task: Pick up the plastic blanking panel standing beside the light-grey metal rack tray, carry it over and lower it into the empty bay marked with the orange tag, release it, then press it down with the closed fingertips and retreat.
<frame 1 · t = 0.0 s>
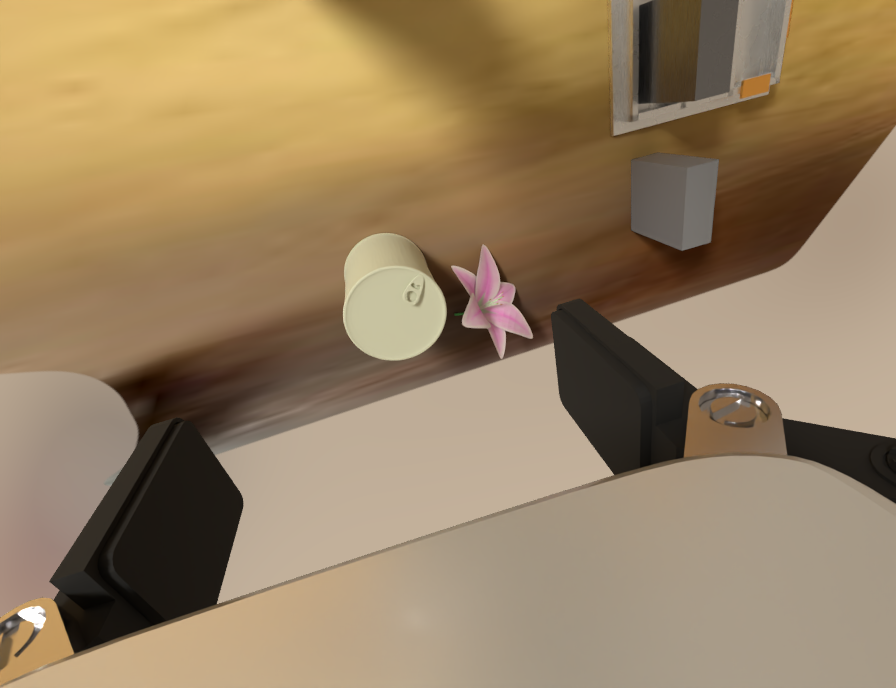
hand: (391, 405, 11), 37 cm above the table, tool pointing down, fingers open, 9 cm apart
rack: (692, 42, 42), on the table
lily: (479, 289, 51), on the table
panel: (643, 192, 49), on the table
can: (386, 273, 47), on the table
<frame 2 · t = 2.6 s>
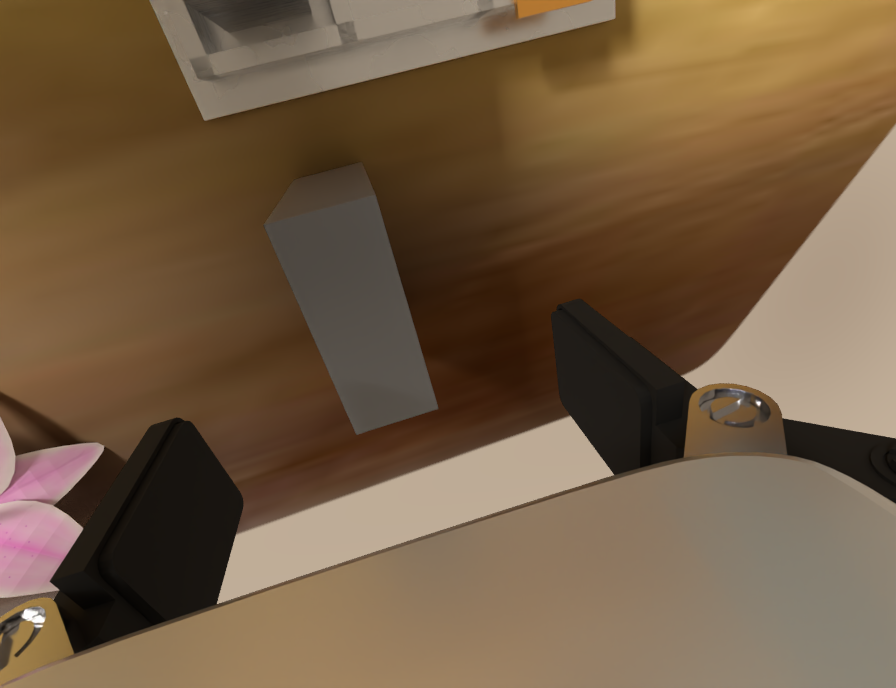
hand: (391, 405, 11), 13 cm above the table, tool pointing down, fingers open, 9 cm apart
lily: (16, 455, 23), on the table
panel: (356, 252, 22), on the table
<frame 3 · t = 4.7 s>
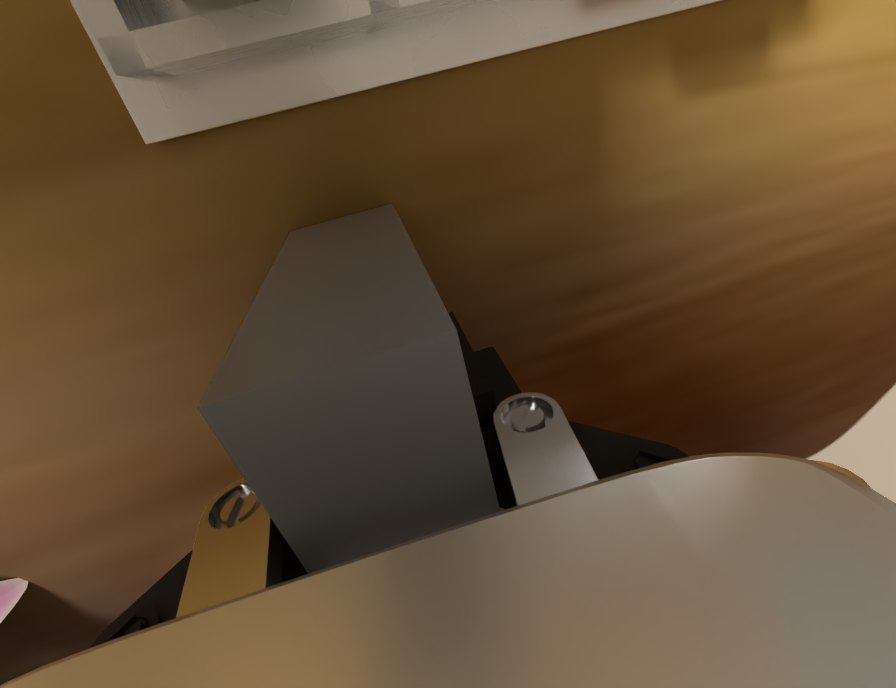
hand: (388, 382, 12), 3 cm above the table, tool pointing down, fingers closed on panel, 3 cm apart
panel: (380, 329, 15), on the table, touching gripper
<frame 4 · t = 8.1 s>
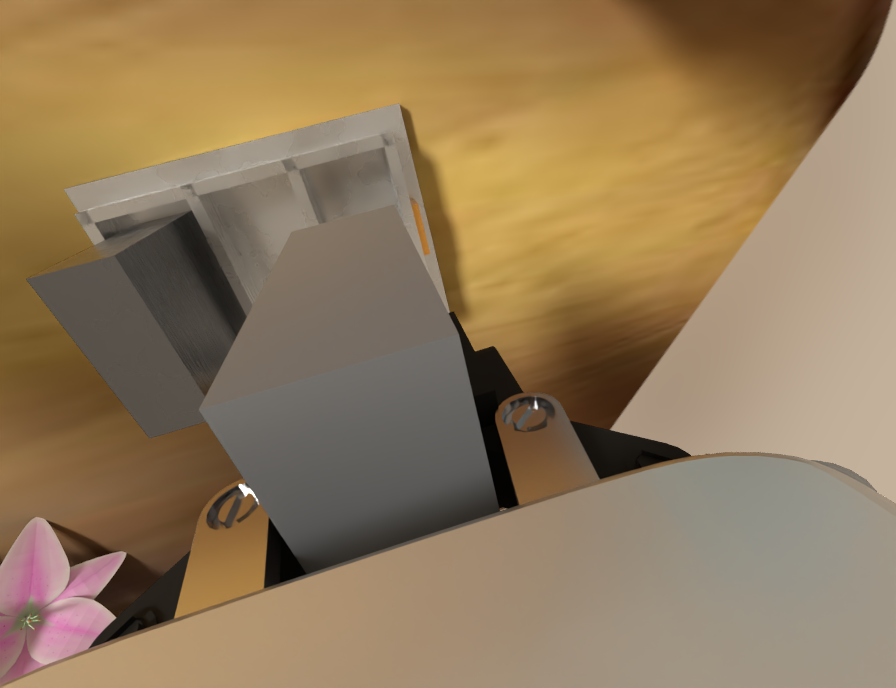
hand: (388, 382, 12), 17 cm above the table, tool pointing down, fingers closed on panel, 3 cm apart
rack: (286, 257, 26), on the table
lily: (68, 561, 34), on the table
panel: (381, 330, 15), point 14 cm above the table, touching gripper
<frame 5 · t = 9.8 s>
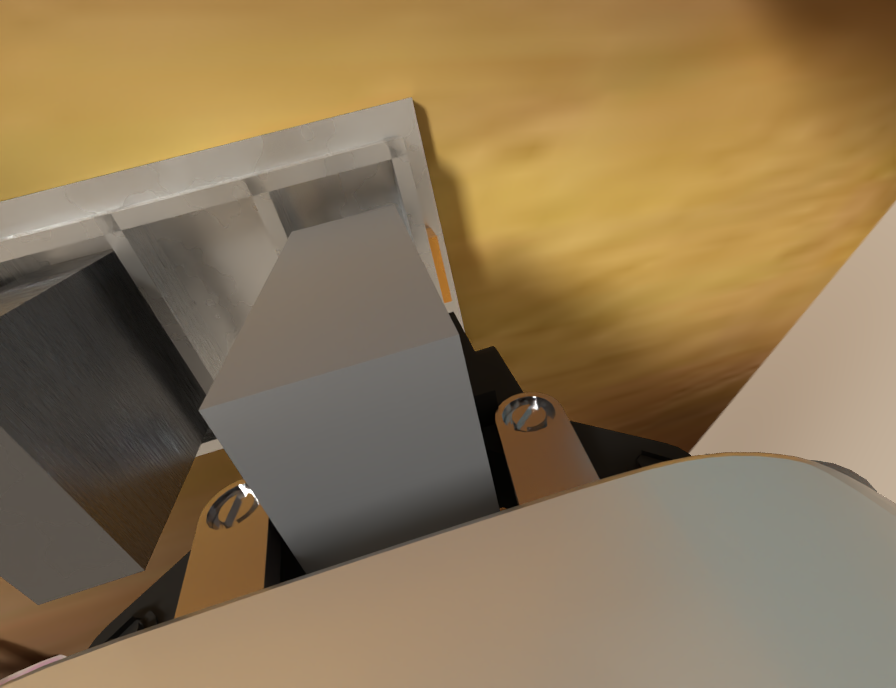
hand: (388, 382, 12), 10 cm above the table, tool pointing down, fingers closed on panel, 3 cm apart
rack: (259, 304, 20), on the table
panel: (381, 330, 15), point 6 cm above the table, touching gripper
when the fingers open (5 cm above the table, at t = 11.5 s): panel stays where it is, resting on rack.
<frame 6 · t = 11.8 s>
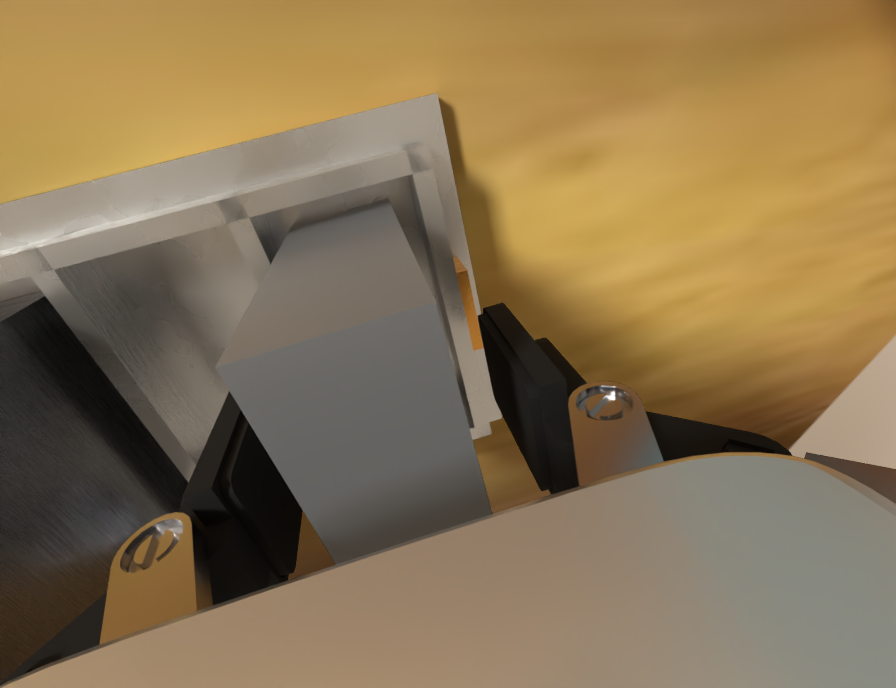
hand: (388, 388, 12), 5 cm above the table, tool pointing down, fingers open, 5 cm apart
rack: (243, 349, 16), on the table
panel: (378, 318, 16), point 1 cm above the table, touching rack
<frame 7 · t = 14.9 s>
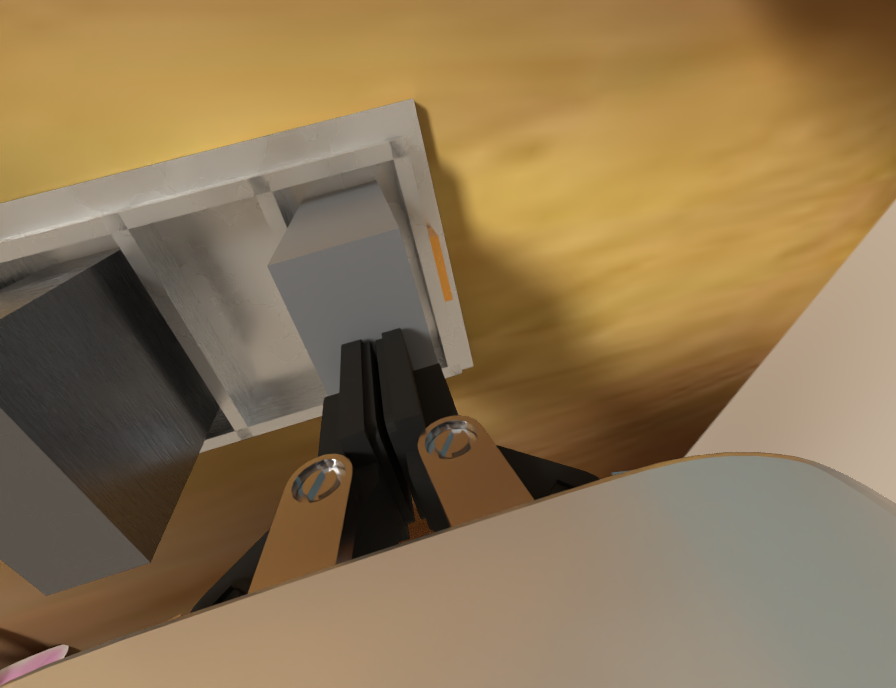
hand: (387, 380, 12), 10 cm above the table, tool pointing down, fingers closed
rack: (262, 302, 20), on the table
panel: (369, 277, 20), point 1 cm above the table, touching gripper, rack
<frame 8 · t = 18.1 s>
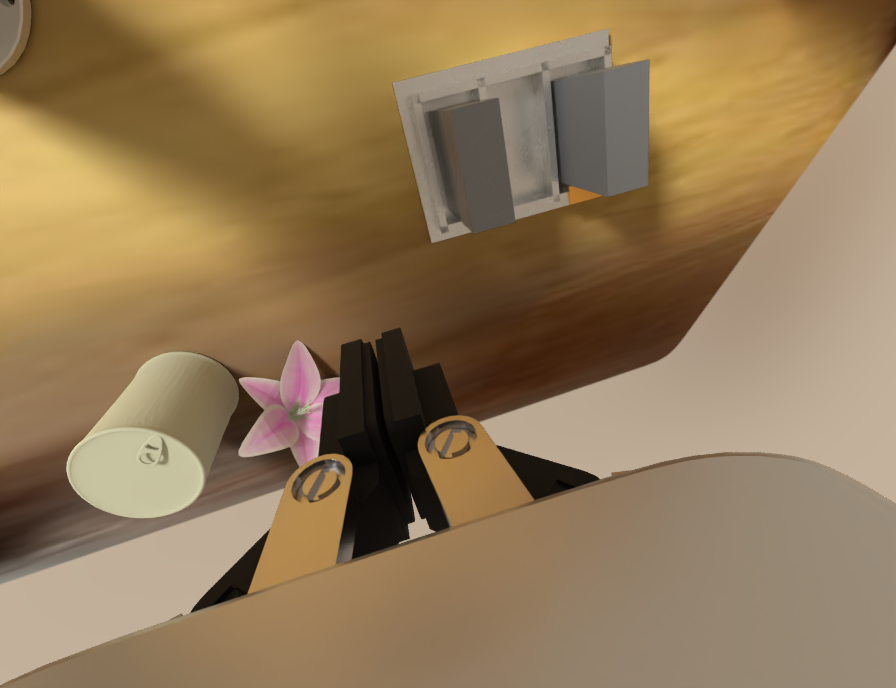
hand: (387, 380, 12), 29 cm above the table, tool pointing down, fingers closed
rack: (511, 143, 37), on the table
lily: (307, 384, 45), on the table
panel: (569, 129, 37), point 1 cm above the table, touching rack
can: (189, 390, 42), on the table
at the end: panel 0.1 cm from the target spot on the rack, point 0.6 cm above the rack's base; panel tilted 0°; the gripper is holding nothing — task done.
